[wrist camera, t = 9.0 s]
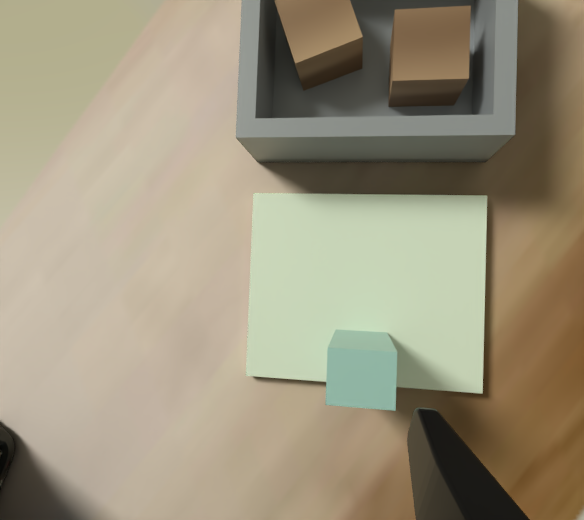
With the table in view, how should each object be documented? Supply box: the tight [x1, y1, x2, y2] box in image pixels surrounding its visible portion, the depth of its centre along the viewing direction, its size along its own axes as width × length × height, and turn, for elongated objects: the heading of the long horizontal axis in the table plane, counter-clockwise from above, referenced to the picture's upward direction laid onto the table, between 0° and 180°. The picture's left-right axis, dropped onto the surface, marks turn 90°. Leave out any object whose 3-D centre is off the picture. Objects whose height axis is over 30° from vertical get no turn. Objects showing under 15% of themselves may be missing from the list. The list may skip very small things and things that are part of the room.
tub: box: [236, 0, 518, 162], centre depth 20 cm, size 9×11×4 cm
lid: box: [246, 193, 487, 411], centre depth 19 cm, size 9×11×6 cm
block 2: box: [388, 6, 471, 107], centre depth 19 cm, size 3×3×3 cm
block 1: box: [274, 0, 363, 91], centre depth 20 cm, size 3×3×3 cm
